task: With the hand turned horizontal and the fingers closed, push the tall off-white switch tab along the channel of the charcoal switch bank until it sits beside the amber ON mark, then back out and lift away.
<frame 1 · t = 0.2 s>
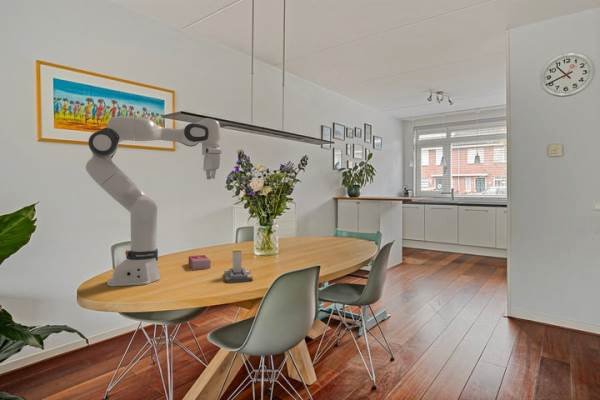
hand: (210, 179, 176), 48 cm above the table, tool pointing down, fingers open, 8 cm apart
tab: (236, 260, 175), point 7 cm above the table, slide at 0.0 cm
maroon box: (198, 266, 196), on the table
switch bank: (237, 277, 171), on the table
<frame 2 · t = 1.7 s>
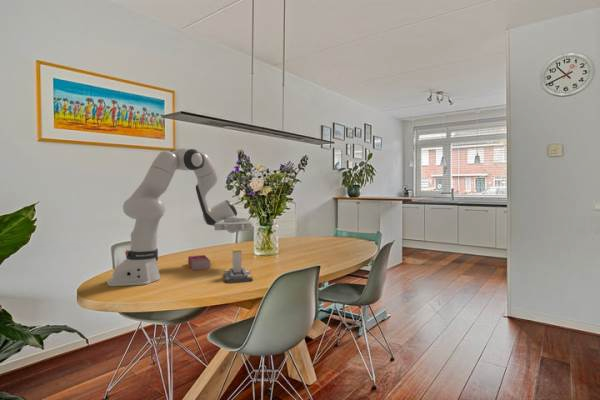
hand: (234, 227, 185), 22 cm above the table, tool horizontal, fingers open, 6 cm apart
nothing on the table moved.
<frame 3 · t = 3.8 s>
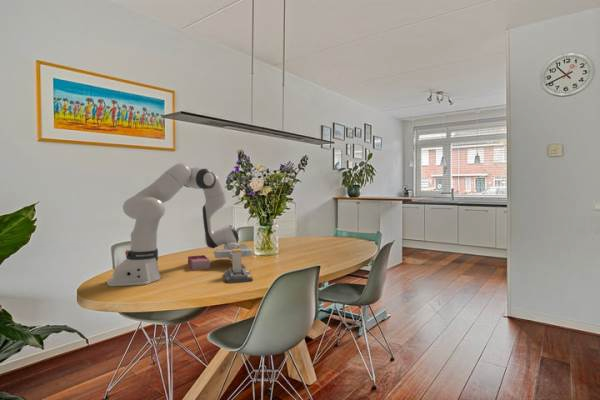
hand: (234, 255, 186), 7 cm above the table, tool horizontal, fingers closed
nothing on the table moved.
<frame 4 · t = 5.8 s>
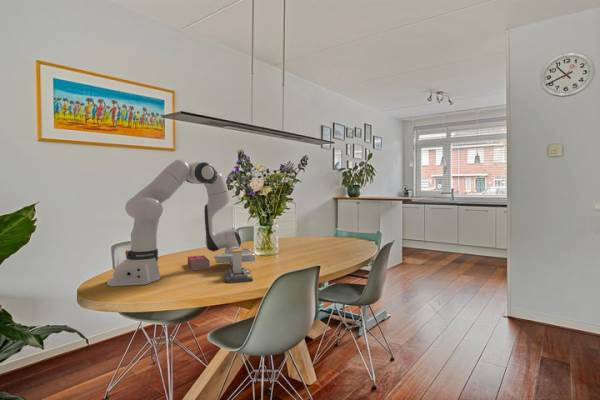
hand: (236, 260, 175), 7 cm above the table, tool horizontal, fingers closed, pressing on tab
tab: (237, 261, 173), point 7 cm above the table, slide at 1.5 cm, touching gripper
everything else where it was.
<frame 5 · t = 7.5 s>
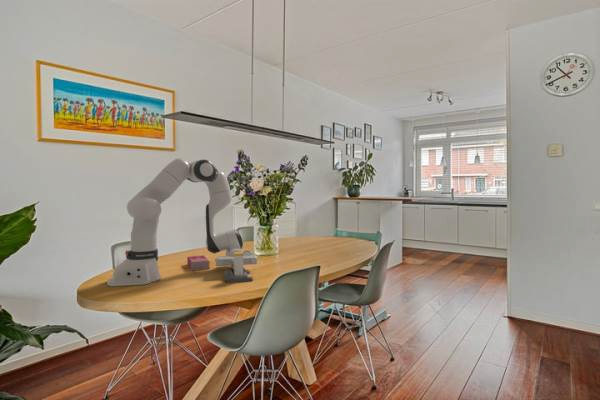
hand: (238, 263, 168), 7 cm above the table, tool horizontal, fingers closed, pressing on tab
tab: (238, 264, 167), point 7 cm above the table, slide at 8.4 cm, touching gripper
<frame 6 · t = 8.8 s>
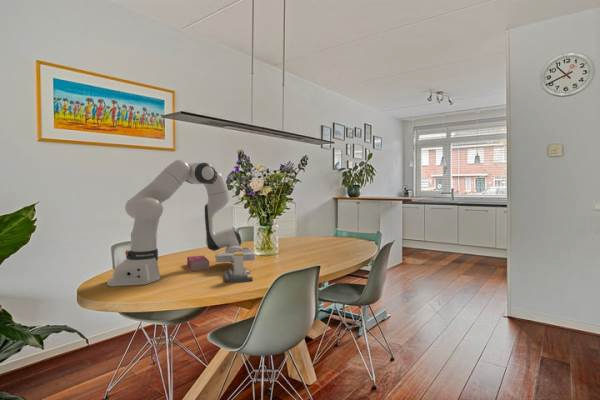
hand: (236, 260, 176), 7 cm above the table, tool horizontal, fingers closed
tab: (238, 264, 167), point 7 cm above the table, slide at 8.4 cm
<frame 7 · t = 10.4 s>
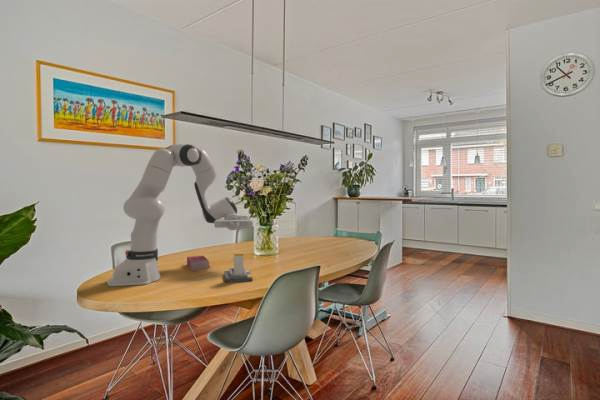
hand: (234, 225, 182), 24 cm above the table, tool horizontal, fingers closed
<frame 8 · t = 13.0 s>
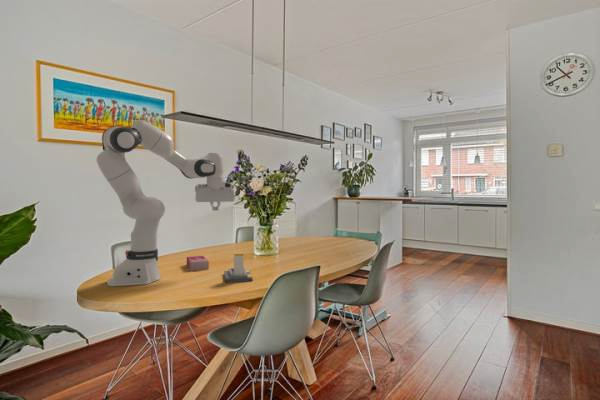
hand: (215, 210, 186), 31 cm above the table, tool pointing down, fingers closed
at the end: tab slide at 8.4 cm; the gripper is holding nothing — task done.
